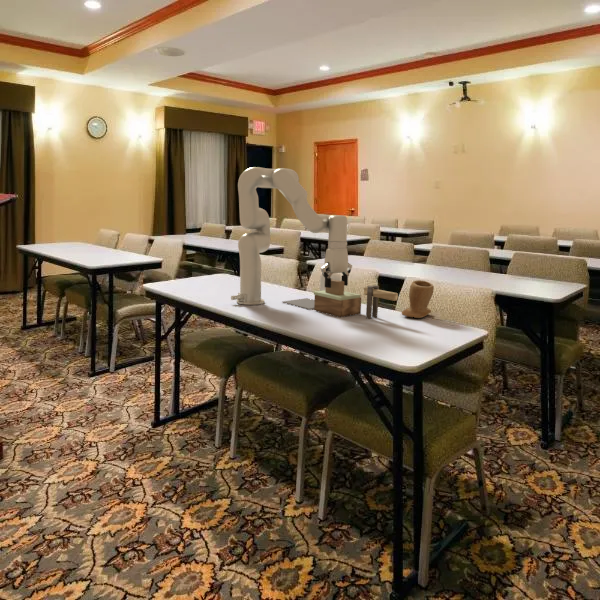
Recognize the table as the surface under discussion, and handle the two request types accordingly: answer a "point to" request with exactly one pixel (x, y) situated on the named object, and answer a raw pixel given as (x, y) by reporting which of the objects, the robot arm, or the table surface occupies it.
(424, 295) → the stone cup
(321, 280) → the photo printer
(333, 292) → the lid
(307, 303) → the mat
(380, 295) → the tan wooden bar
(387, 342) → the table surface
